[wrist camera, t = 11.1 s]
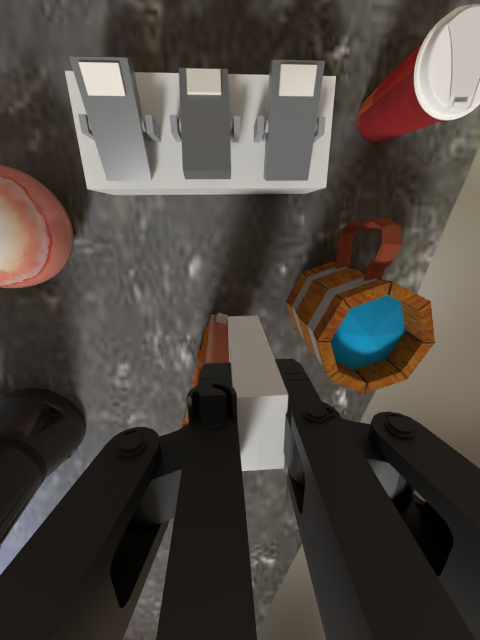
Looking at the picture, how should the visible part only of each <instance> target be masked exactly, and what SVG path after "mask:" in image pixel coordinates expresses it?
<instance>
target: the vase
mask: <svg viewBox="0 0 480 640" xmlns="http://www.w3.org/2000/svg"><path fill="white" fill-rule="evenodd" d="M73 242H74V237H73V229H72V224H71V221H70V219H69V216H68V214H67V212H66V210H65V208H64V206H63V205H62V204H61V202H60V201H59V199H58V198H57V197H56V196H55V195H54V194H53V193H52V192H51V191H50V190H49V189H48V188H47V187H46V186H45V185H43V184H42V183H41V182H40V181H38V180H36V179H35V178H33V177H32V176H30V175H28V174H26V173H24V172H22V171H20V170H18V169H14V168H11V167H8V166H5V165H1V164H0V287H2V288H21V287H28V286H33V285H37V284H39V283H42V282H45V281H47V280H49V279H50V278H52V277H54V276H55V275H56V274H58V273H59V272H60V271H61V270H62V269H63V268H64V266H65V265H66V264H67V262H68V260H69V258H70V256H71V253H72V249H73Z"/></svg>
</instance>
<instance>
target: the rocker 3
mask: <svg viewBox="0 0 480 640" xmlns="http://www.w3.org/2000/svg"><path fill="white" fill-rule="evenodd" d="M324 65H325V61H311V60H272V61H271V62H270V67H269V86H268V104H267V120H265V133H266V141H265V159H264V179H265V181H308V177H309V170H310V163H311V156H312V149H313V142H314V135H315V132H316V129H317V114H318V107H319V100H320V93H321V86H322V79H323V72H324Z"/></svg>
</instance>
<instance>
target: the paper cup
mask: <svg viewBox="0 0 480 640" xmlns="http://www.w3.org/2000/svg"><path fill="white" fill-rule="evenodd" d="M479 104H480V4H473V5H467V6H461V7H458V8H456V9H454V10H453V11H452V12H450V13H449V14H448V15H446V16H445V17H443V18H442V19H441V20H440V21H439V22H438V23H437V24H436V25H435V26H434V27H433V28H432V29H431V31H430V32H429V33H428V35H427V36H426V38H425V40H424V41H423V43H422V44H421V45H420V46H419V47H418V48H417V49H416V50H415V51H414V52H413V53H412V54H411V55H410V56H408V57H407V58H406V59H405V60H404V61H403V62H402V63H401V64H400V65H399V66H398V67H397V68H396V69H395V70H394V71H393V72H392V73H391V74H390V75H389V76H388V77H387V78H386V79H385V80H384V81H383V82H382V83H381V84H380V85H379V86H378V87H377V88H376V89H375V90H374V91H373V92H372V93H371V94H370V95H369V96H368V98H367V99H366V100H365V101H364V103H363V104H362V106H361V108H360V110H359V113H358V121H357V122H358V129H359V132H360V134H361V135H362V137H363V138H364V139H366V140H367V141H370V142H381V141H384V140H388V139H391V138H393V137H396V136H399V135H402V134H405V133H408V132H411V131H413V130H416V129H419V128H422V127H425V126H429V125H432V124H434V123H437V122H439V121H442V120H453V119H457V118H460V117H462V116H464V115H466V114H468V113H469V112H471V111H472V110H474V109H475V108H476V107H477V106H478V105H479Z"/></svg>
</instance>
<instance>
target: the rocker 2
mask: <svg viewBox="0 0 480 640" xmlns="http://www.w3.org/2000/svg"><path fill="white" fill-rule="evenodd" d="M179 89H180V114H181V119H179V128H180V132H181V139H182V164H183V173H184V177H185V179H231V146H230V133H232V120H230V115H229V84H228V69H217V68H179Z"/></svg>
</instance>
